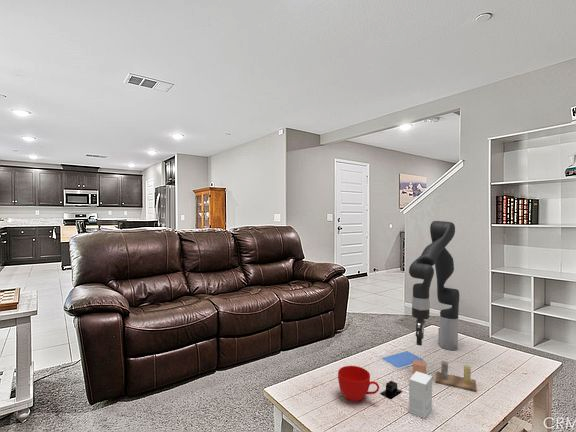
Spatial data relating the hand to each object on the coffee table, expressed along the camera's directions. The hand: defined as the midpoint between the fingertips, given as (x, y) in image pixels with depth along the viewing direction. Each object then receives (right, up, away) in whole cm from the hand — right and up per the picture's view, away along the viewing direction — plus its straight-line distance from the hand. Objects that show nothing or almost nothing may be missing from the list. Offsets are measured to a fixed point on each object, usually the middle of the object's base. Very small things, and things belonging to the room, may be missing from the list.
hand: (420, 341), depth 151 cm
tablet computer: (-2, -17, +17) cm, 24 cm away
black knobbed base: (-17, -18, -13) cm, 28 cm away
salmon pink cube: (0, -16, 0) cm, 17 cm away
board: (+14, -17, -4) cm, 22 cm away
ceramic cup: (-32, -17, -17) cm, 40 cm away
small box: (-10, -17, -25) cm, 32 cm away
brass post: (+18, -17, -6) cm, 25 cm away
